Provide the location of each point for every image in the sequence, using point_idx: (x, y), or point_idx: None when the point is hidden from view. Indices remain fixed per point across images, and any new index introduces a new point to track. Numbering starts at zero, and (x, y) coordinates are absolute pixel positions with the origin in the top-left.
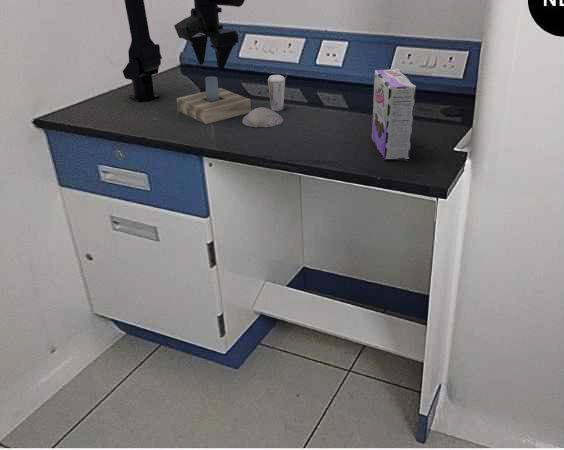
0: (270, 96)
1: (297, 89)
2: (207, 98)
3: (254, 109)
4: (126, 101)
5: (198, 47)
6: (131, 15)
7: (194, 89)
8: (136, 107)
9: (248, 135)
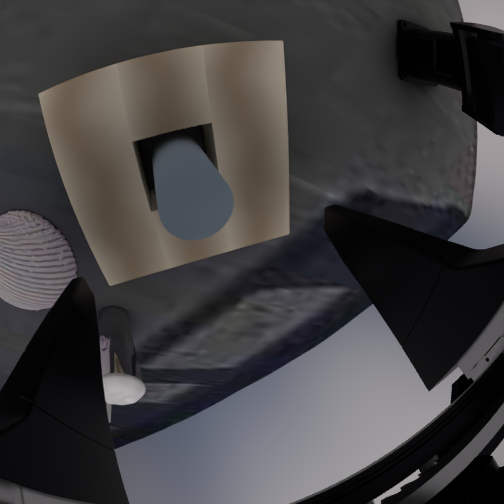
0: (109, 335)
1: (233, 365)
2: (176, 142)
3: (11, 270)
4: (417, 9)
5: (413, 280)
6: None
7: (390, 185)
8: None
9: None
